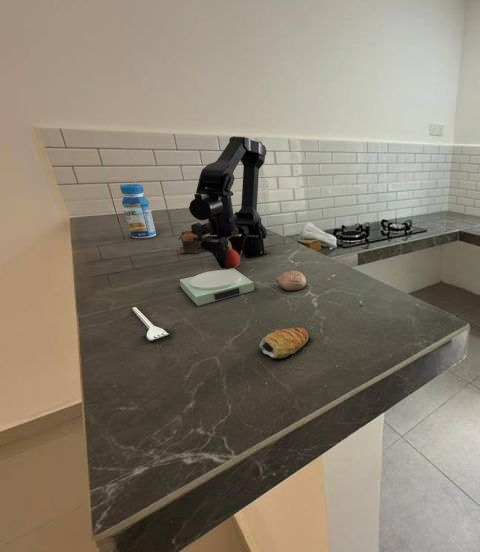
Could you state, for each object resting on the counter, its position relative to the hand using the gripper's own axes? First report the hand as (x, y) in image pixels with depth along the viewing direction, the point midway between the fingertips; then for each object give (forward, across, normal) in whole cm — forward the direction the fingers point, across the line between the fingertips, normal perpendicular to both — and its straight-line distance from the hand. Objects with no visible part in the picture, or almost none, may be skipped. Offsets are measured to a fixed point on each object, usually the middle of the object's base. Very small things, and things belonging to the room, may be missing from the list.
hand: (230, 262), depth 101 cm
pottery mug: (+3, -18, -20) cm, 27 cm away
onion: (+3, 0, 0) cm, 3 cm away
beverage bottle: (+3, -32, -50) cm, 59 cm away
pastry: (+3, +40, +29) cm, 50 cm away
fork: (+3, +34, -2) cm, 34 cm away
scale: (+2, +14, +3) cm, 15 cm away
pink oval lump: (+3, +11, +22) cm, 25 cm away
